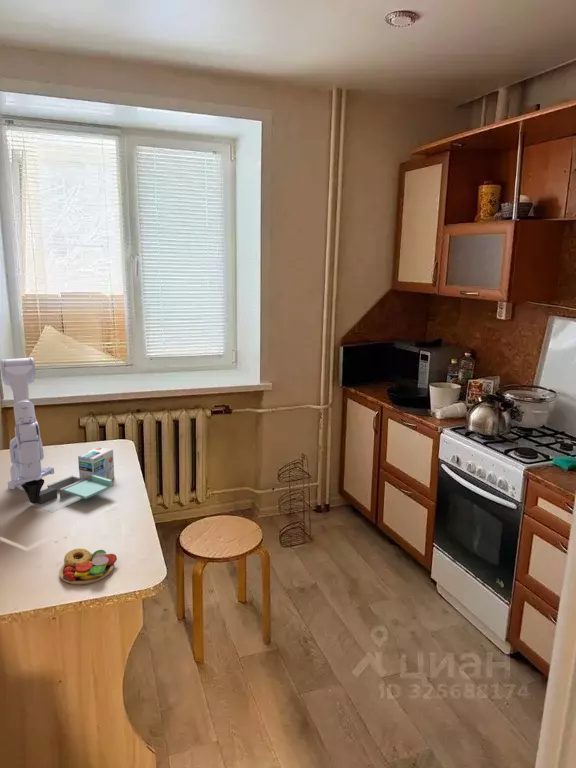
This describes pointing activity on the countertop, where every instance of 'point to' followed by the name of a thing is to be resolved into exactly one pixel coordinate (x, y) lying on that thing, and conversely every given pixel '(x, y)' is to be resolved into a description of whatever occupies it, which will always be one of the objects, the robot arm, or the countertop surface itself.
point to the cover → (90, 486)
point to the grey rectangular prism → (47, 495)
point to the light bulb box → (97, 463)
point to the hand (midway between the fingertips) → (34, 502)
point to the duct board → (60, 495)
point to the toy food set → (86, 566)
